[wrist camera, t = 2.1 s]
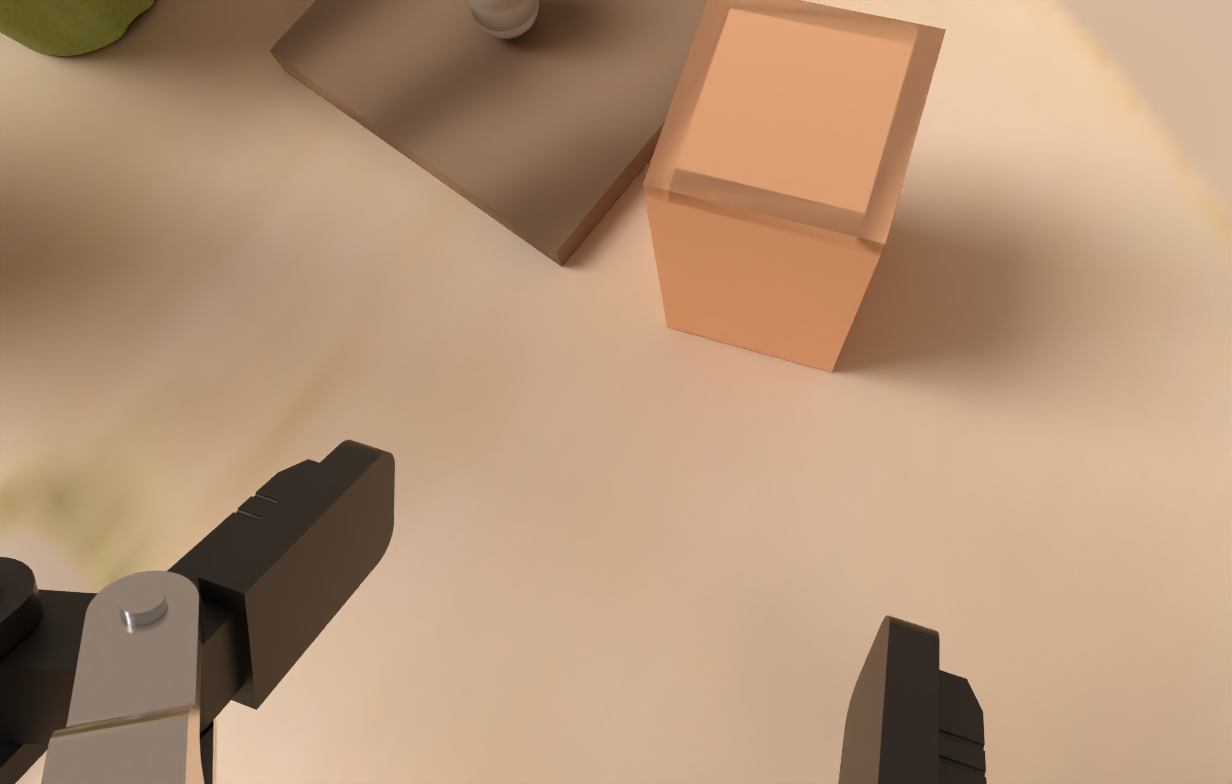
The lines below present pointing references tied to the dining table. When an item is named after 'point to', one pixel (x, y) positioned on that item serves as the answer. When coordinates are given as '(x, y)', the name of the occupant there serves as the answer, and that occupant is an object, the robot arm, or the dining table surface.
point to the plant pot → (68, 23)
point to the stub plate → (506, 95)
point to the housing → (784, 171)
